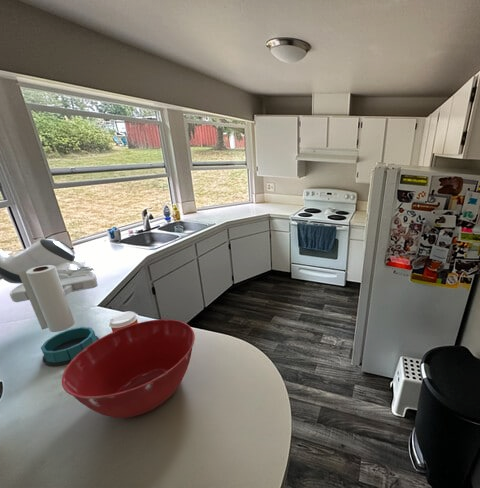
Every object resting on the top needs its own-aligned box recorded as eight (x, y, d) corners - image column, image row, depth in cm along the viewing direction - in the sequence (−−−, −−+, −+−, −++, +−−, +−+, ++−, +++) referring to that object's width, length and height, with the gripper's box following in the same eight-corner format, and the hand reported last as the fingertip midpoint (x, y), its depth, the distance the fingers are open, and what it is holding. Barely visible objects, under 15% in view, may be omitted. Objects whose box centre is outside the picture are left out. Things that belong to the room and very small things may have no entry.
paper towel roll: (80, 322, 85) (60, 265, 78) (58, 334, 79) (34, 274, 72) (64, 318, 86) (43, 262, 79) (42, 330, 81) (17, 270, 74)
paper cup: (119, 362, 82) (108, 327, 78) (117, 349, 88) (107, 316, 83) (147, 351, 87) (138, 318, 83) (144, 339, 93) (136, 307, 88)
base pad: (48, 373, 77) (43, 361, 76) (39, 353, 85) (33, 341, 83) (105, 347, 88) (101, 336, 87) (92, 331, 96) (88, 320, 94)
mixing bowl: (127, 357, 85) (115, 319, 79) (213, 353, 87) (208, 316, 82) (47, 449, 58) (23, 401, 53) (176, 440, 61) (164, 393, 56)
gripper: (16, 277, 83) (-4, 297, 72) (97, 265, 94) (90, 280, 83) (23, 294, 85) (5, 315, 74) (102, 280, 96) (95, 297, 85)
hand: (51, 297), depth 78 cm, fingers closed on paper towel roll, 3 cm apart
